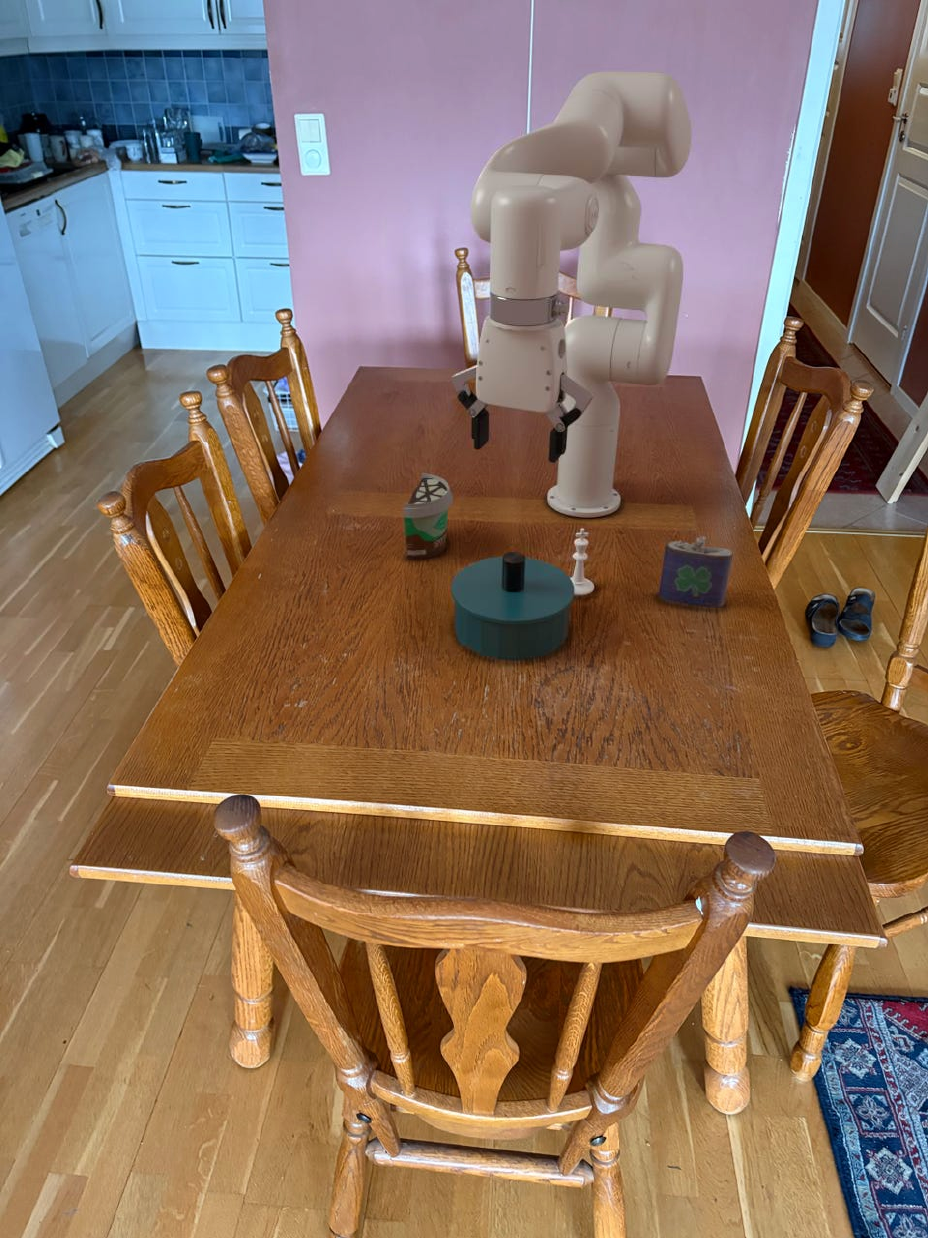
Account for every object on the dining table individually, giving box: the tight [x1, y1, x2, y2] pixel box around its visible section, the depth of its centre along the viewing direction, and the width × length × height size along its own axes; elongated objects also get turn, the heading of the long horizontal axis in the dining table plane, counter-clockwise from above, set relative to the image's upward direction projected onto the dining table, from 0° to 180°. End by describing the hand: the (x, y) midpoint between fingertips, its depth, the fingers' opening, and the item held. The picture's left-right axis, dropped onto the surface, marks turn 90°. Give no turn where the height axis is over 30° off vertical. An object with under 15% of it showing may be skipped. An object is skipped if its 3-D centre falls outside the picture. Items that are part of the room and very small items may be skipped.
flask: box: [658, 535, 733, 608], centre depth 129 cm, size 9×3×11 cm, turn 74°
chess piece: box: [570, 528, 595, 596], centre depth 132 cm, size 5×5×10 cm
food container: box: [402, 472, 454, 561], centre depth 143 cm, size 12×6×10 cm, turn 168°
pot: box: [454, 601, 571, 661], centre depth 124 cm, size 15×15×6 cm
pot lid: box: [450, 551, 575, 624], centre depth 121 cm, size 16×16×6 cm
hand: (517, 451), depth 111 cm, fingers open, 9 cm apart
